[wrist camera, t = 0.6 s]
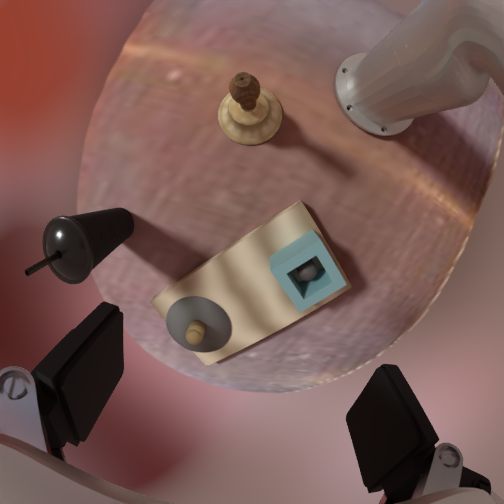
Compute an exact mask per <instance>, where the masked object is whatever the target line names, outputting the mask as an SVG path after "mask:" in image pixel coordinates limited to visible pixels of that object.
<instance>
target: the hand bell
mask: <svg viewBox="0 0 504 504" xmlns="http://www.w3.org/2000/svg"><path fill="white" fill-rule="evenodd" d="M229 91H230V93H229V94H228V95H227V96H226V97H225V98H224V99H223V101H222V102H221V104H220V107H219V110H218V121H219V125H220V127H221V129H222V131H223V132H224V134H225V135H226V136H227V137H228V138H230V139H231V140H233V141H235V142H237V143H240V144H243V145H257V144H261V143H263V142H265V141H267V140H269V139H270V138H271V137H273V136H274V135H275V134H276V132H277V131H278V129H279V127H280V125H281V122H282V108H281V105H280V103H279V101H278V99H277V98H276V97H275V96H274V95H273V94H272V93H271V92H270V91H268V90H266V89H264V88H261V87H260V84H259V82H258V80H257V79H256V78H255V77H254V76H252V75H250V74H248V73H246V72H241V73H238V74H236V76H235V77H234V78H233V79H232V81H231V82H230V86H229Z"/></svg>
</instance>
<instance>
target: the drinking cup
mask: <svg viewBox="0 0 504 504" xmlns="http://www.w3.org/2000/svg"><path fill="white" fill-rule="evenodd" d="M133 229H134V221H133V218H132V216H131V214H130V213H129V212H128V211H127V210H126V209H123V208H114V209H108V210H102V211H96V212H91V213H85V214H80V215H75V216H70V217H68V216H58V217H56V218H54V219H52V220H51V221H50V222H49V223H48V225H47V226H46V228H45V231H44V235H43V251H44V256H45V259H43V260H42V261H40V262H38V263H36V264H34V265H32V266H31V267H29V268H27V269H26V270H25V274H26V275H27V276H29V275H31V274H33V273H34V272H36V271H38V270H39V269H41V268H43V267H45V266H46V265H48V266H49V267H50V269H51V270H52V272H53V273H54V274H55V275H56V276H57V277H58V278H59V279H61V280H62V281H64V282H66V283H69V284H78V283H81V282H83V281H84V280H85V279H86V278H87V277H88V276H89V274H90V272H91V270H92V269H94V268H95V267H96V266H97V265H98V264H99V263H100V262H101V261H102V260H103V259H104V258H105V257H107V256H108V255H109V254H110V253H111V252H112V251H113V250H114V249H116V248H117V247H118V246H119V245H120V244H121V243H122V242H123V241H125V240H126V239H127V238H128V237H129V236H130V235H131V234H132V232H133Z"/></svg>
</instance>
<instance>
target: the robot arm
mask: <svg viewBox="0 0 504 504" xmlns="http://www.w3.org/2000/svg"><path fill="white" fill-rule="evenodd" d="M342 71H344V73H343V72H342ZM490 77H491V78H492V79H493V80H494V82H495V83H496V85H497V86H498V87H499V89H500V91H501V92H502V94H503V95H504V0H423V1H422V2H421V3H420V4H419V5H418V6H417V7H416V8H415V9H414V10H413V11H412V12H411V13H410V14H409V15H408V16H407V17H406V18H405V19H404V20H403V21H402V22H401V23H400V24H398V25H397V26H396V27H395V28H394V29H393V30H392V31H391V32H390V33H389V34H388V35H387V36H386V37H385V38H384V39H383V40H381V41H380V42H379V43H378V44H377V45H376V46H375V47H374V48H373V49H372V50H371V51H370V52H369V53H358V54H355V55H352V56H351V57H349V58H347V59H346V60H345V61H344V62H343V63H342V64H341V66H340V67H339V68H338V71H337V73H336V76H335V81H334V85H335V94H336V98H337V100H338V103H339V105H340V107H341V109H342V110H343V112H344V113H345V115H346V116H347V117H348V118H349V119H350V120H351V121H352V122H353V123H354V124H355V125H356V126H358V127H359V128H361V129H362V130H364V131H366V132H369V133H371V134H374V135H379V136H390V135H395V134H398V133H401V132H402V131H404V130H406V129H407V128H408V127H409V126H410V125H411V123H412V122H413V120H414V118H416V117H420V116H424V115H428V114H433V113H437V112H441V111H446V110H451V109H455V108H459V107H464V106H468V105H470V104H473V103H474V102H476V101H477V100H478V99H479V98H480V97H481V96H482V95H483V94H484V92H485V90H486V88H487V86H488V83H489V79H490ZM347 107H348V108H349V110H347ZM381 129H382V130H383V132H382V131H381ZM123 371H124V357H123V313H122V312H120V309H119V307H118V306H116V305H113V304H110V303H107V302H102V303H101V304H100V305H99V306H98V307H97V308H96V309H95V310H93V311H92V313H90V314H89V315H88V316H87V317H86V318H85V319H84V320H83V321H82V322H81V323H80V324H79V325H78V326H77V327H76V328H75V329H73V330H71V331H70V332H69V333H68V334H67V335H66V336H65V337H64V338H63V339H62V340H61V341H60V342H59V343H58V344H57V345H56V346H55V347H54V348H53V349H52V350H51V351H50V352H49V353H48V355H47V356H46V357H45V358H44V359H43V360H42V361H41V362H40V363H39V364H38V365H37V366H36V367H35V368H34V370H33V371H32V372H31V373H29V372H28V371H27V370H25V369H23V368H20V367H14V366H13V367H7V368H5V369H3V370H1V371H0V504H173V503H169V502H166V501H162V500H158V499H155V498H151V497H148V496H145V495H142V494H139V493H136V492H133V491H130V490H128V489H125V488H122V487H120V486H117V485H114V484H111V483H109V482H107V481H104V480H102V479H100V478H97V477H95V476H93V475H91V474H88V473H86V472H84V471H82V470H80V469H78V468H76V467H74V466H72V465H70V464H68V463H67V461H66V458H65V455H64V452H63V448H62V447H64V446H65V444H66V442H69V443H71V444H73V445H75V446H78V444H79V442H80V441H82V442H84V441H85V440H86V439H87V437H88V435H89V433H90V431H91V430H92V428H93V426H94V424H95V422H96V421H97V419H98V417H99V415H100V413H101V411H102V410H103V408H104V406H105V405H106V403H107V401H108V399H109V397H110V396H111V394H112V392H113V391H114V389H115V387H116V385H117V384H118V382H119V380H120V378H121V377H122V374H123ZM346 422H347V425H348V429H349V432H350V435H351V439H352V443H353V446H354V450H355V453H356V457H357V460H358V464H359V468H360V472H361V476H362V479H363V483H364V485H365V487H367V489H368V492H369V493H372V492H378V491H381V490H382V489H384V492H385V493H384V494H383V496H382V498H381V500H380V502H379V504H504V500H503V499H501V498H500V497H499V496H498V495H496V493H494V492H493V491H492V492H491V484H490V481H489V480H488V479H487V478H486V477H484V476H482V475H480V474H478V473H476V472H474V471H472V470H470V469H468V468H466V467H464V466H463V456H462V454H461V452H460V450H459V449H458V448H457V447H456V446H454V445H452V444H450V443H442V444H439V445H438V446H437V447H436V448H435V446H434V445H435V444H436V443H437V442H438V441H439V438H438V436H437V434H436V432H435V430H434V428H433V426H432V425H431V423H430V421H429V419H428V417H427V416H426V414H425V412H424V410H423V408H422V407H421V405H420V403H419V401H418V400H417V398H416V396H415V394H414V393H413V391H412V389H411V387H410V386H409V384H408V382H407V381H406V379H405V377H404V376H403V374H402V372H401V371H400V369H399V367H398V366H397V365H391V364H383V365H381V366H380V367H378V368H377V369H376V370H375V372H374V374H373V375H372V377H371V378H370V380H369V382H368V383H367V385H366V386H365V388H364V389H363V391H362V393H361V394H360V395H359V397H358V398H357V400H356V401H355V403H354V404H353V406H352V407H351V408H350V410H349V411H348V413H347V415H346Z"/></svg>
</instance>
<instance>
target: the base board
mask: <svg viewBox="0 0 504 504" xmlns="http://www.w3.org/2000/svg"><path fill="white" fill-rule="evenodd" d="M312 229H313V230H314V232H315V233H316V234H317V236H318V237H319V238H320V240H321V241H322V243H323V245H324V246H325V248H326V250H327V251H328V253H329V255H330V256H331V258H332V260H333V262H334V263H335V265H336V267H337V268H338V270H339V272H340V274H341V275H342V277H343V279H344V281H345V282H346V284H347V285H345V286H344V287H342V288H341V289H339V290H337V291H336V292H334V293H332V294H331V295H329V296H328V297H326V298H324V299H323V300H321V301H319V302H318V303H316V304H314V305H312V306H311V307H309V308H307V309H306V310H304V311H302V312H299V311H298V309H297V308H296V307H295V305H294V304H293V302H292V301H291V299H290V298H289V297H288V295H287V294H286V292H285V291H284V290H283V288H282V287H281V285H280V284H279V282H278V281H277V280H276V278H275V277H274V275H273V274H272V272H271V271H270V258H269V257H270V256H271V255H273V254H275V253H276V252H278V251H279V250H281V249H282V248H284V247H286V246H287V245H289V244H290V243H292V242H294V241H295V240H297V239H298V238H300V237H301V236H303V235H305V234H306V233H308V232H309V231H311V230H312ZM322 268H324V267H323V265H322V264H321V262H320V260H319V259H318V257H317V255H316V256H314V257H313V258H311V259H309V260H308V261H306V262H305V263H303V264H301V265H300V266H298V267H297V268H295V269H293V270H292V271H291V272H292V273H293V275H294V276H295V278H296V279H297V281H298V282H301V281H302V280H304V281H310V280H312V279H314V278H315V276H316V274H317V271H319V270H320V269H322ZM350 288H352V286H351V284H350V282H349V280H348V278H347V277H346V275H345V273H344V271H343V269H342V268H341V266H340V264H339V262H338V261H337V259H336V257H335V255H334V254H333V252H332V250H331V249H330V247H329V245H328V244H327V242H326V240H325V239H324V237H323V235H322V234H321V232H320V230H319V229H318V227H317V225H316V224H315V222H314V220H313V219H312V217H311V216H310V214H309V212H308V211H307V209H306V208H305V206H304V204H303V203H302V202H301V201H300V200H299V201H298V202H296V203H295V204H293V205H292V206H290V207H288V208H287V209H285V210H284V211H282V212H281V213H279V214H278V215H276V216H275V217H273V218H272V219H270V220H268V221H267V222H265V223H264V224H262V225H261V226H259V227H258V228H256V229H255V230H253V231H252V232H250V233H249V234H247V235H245V236H244V237H242V238H241V239H239V240H238V241H236V242H235V243H233V244H232V245H230V246H229V247H227V248H226V249H224V250H223V251H221V252H220V253H218V254H217V255H215V256H214V257H212V258H211V259H209V260H208V261H206V262H205V263H203V264H202V265H200V266H199V267H197V268H196V269H194V270H193V271H191V272H190V273H188V274H187V275H185V276H184V277H183V278H181V279H180V280H178V281H177V282H175V283H174V284H172V285H171V286H169V287H168V288H166V289H165V290H163V291H162V292H160V293H159V294H158V295H156V296H155V297H154V298H153V299H152V300H151V302H150V303H151V305H152V306H153V307H154V308H155V309H156V311H157V312H158V313H159V314H160V315H161V317H162V318H163V319H164V320H165V321H166V325H167V328H168V331H169V333H170V335H171V336H172V338H173V339H174V340H175V341H176V342H177V343H178V344H180V345H181V346H183V347H184V348H186V349H188V350H191V351H193V352H194V353H195V354H196V355H197V356H198V357H199V358H200V359H201V360H202V362H203V363H204V364H205V365H206V366H208V365H210V364H212V363H215V362H217V361H219V360H221V359H223V358H225V357H227V356H229V355H231V354H233V353H235V352H237V351H240V350H242V349H244V348H246V347H248V346H249V345H251V344H253V343H255V342H257V341H259V340H261V339H263V338H265V337H267V336H269V335H271V334H273V333H274V332H276V331H278V330H280V329H282V328H284V327H285V326H287V325H289V324H291V323H293V322H295V321H296V320H298V319H300V318H302V317H303V316H305V315H307V314H309V313H310V312H312V311H314V310H315V309H317V308H319V307H321V306H322V305H324V304H326V303H327V302H329V301H331V300H332V299H334V298H336V297H337V296H339V295H340V294H342V293H344V292H345V291H347V290H349V289H350Z"/></svg>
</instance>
